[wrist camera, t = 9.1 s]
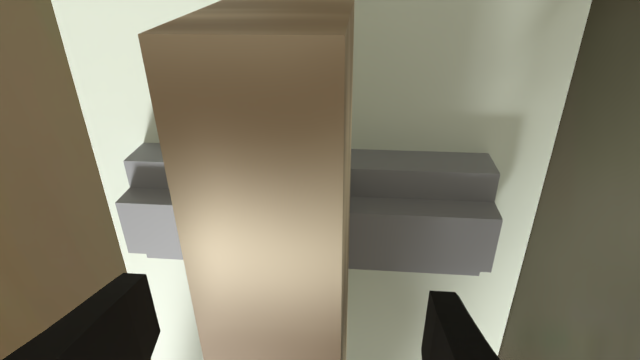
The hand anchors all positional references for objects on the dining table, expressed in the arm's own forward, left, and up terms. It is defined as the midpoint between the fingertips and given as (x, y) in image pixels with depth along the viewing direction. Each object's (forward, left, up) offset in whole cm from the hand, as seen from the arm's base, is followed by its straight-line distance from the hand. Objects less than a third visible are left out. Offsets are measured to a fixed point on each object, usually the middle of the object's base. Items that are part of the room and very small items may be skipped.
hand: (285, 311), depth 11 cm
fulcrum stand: (0, 0, -7) cm, 7 cm away
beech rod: (0, 0, -3) cm, 3 cm away
